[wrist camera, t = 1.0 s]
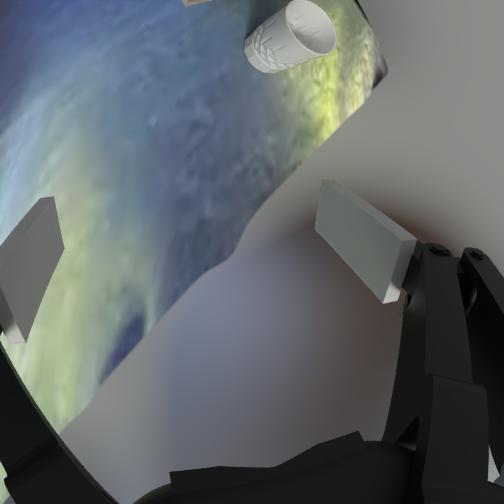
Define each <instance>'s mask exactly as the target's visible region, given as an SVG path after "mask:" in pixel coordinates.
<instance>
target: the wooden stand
mask: <svg viewBox="0 0 504 504" xmlns="http://www.w3.org/2000/svg"><path fill="white" fill-rule="evenodd" d="M208 1H213V0H182V2H183V3H184V5H185V7H186V6H190V5H194V4H199V3H203V2H208Z"/></svg>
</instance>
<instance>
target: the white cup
mask: <svg viewBox="0 0 504 504" xmlns="http://www.w3.org/2000/svg"><path fill="white" fill-rule="evenodd" d="M336 44H337V35H336V30H335V27H334V25H333V23H332V21H331V19H330V18H329V17H328V15H327V14H326V13H325V12H324V11H323V10H322V9H321V8H320V7H319V6H317V5H316V4H314V3H312V2H310V1H308V0H293V1H291V2H290V3H288V4H287V5H285V6H284V7H283V8H281V9H280V10H279V11H277V12H276V13H275V14H273V15H272V16H271V17H269V18H268V19H267V20H266V21H265V22H263V23H262V24H261V25H260V26H259V27H258V28H257V29H256V30H255V31H253V32H252V33H251V34H250V35H249V36H248V37H247V39H246V40H245V43H244V52H245V54H246V57H247V60H248V61H249V62H250V63H251V64H252V65H253V66H254V68H256V69H258V70H260V71H262V72H263V73H275V72H278V71H280V70H283V69H286V68H290V67H293V66H297V65H299V64H302V63H305V62H308V61H310V60H313V59H316V58H319V57H322V56H325V55H328V54H330V53H331V52H333V50H334V49H335V47H336Z"/></svg>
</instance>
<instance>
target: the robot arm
mask: <svg viewBox="0 0 504 504" xmlns="http://www.w3.org/2000/svg"><path fill="white" fill-rule="evenodd" d="M315 230H316V231H317V232H318V233H319V234H320V235H321V236H322V237H323V238H324V239H325V240H326V241H327V242H328V243H329V244H330V246H331V247H332V248H333V249H334V250H335V251H336V252H337V253H338V254H339V255H340V256H341V257H342V258H343V260H344V261H345V262H346V263H347V264H348V265H349V266H350V267H351V268H352V269H353V270H354V271H355V273H356V274H357V275H358V276H359V277H360V278H361V279H362V280H363V282H365V284H366V285H367V286H368V287H369V288H370V289H371V290H372V292H373V293H374V294H375V295H376V296H377V297H378V298H379V300H380V301H381V302H382V303H388V302H392V301H397V300H398V297H399V294H400V291H401V289H402V288H403V289H404V290H405V291H406V292H407V295H406V298H405V301H404V304H403V306H402V309H401V311H400V313H399V316H402V314H403V322H402V332H401V339H400V347H399V355H398V362H397V369H396V375H395V381H394V387H393V393H392V398H391V403H390V408H389V413H388V418H387V422H386V427H385V431H384V435H383V437H382V440H381V441H363V439H362V437H361V435H360V433H359V431H356V432H353V433H350V434H347V435H345V436H341V437H338V438H336V439H332V440H329V441H326V442H323V443H319V444H317V445H315V446H313V447H312V448H310V449H308V450H306V451H304V452H303V453H301V454H299V455H297V456H295V457H294V458H292V459H290V460H288V461H286V462H284V463H282V464H280V465H278V466H276V467H270V468H256V467H255V468H254V467H227V466H216V467H210V468H202V469H193V470H184V471H174V472H169V473H170V479H171V483H169V484H166V485H163V486H161V487H159V488H157V489H155V490H152V491H150V492H149V493H147V494H145V495H144V496H142V497H141V498H140V499H138V500H137V501H136V502H135V503H134V504H504V278H503V276H502V275H501V273H500V272H499V271H498V269H497V268H496V267H495V265H494V264H493V262H492V261H491V260H490V258H489V257H488V256H487V255H486V254H484V253H483V252H482V251H481V250H479V249H476V248H465V249H464V252H463V254H462V257H461V258H455V257H453V255H452V253H451V252H450V251H449V250H448V249H447V248H445V247H443V246H442V245H439V244H434V243H426V244H422V243H421V242H420V241H418V240H417V239H416V238H415V237H414V236H412V235H411V234H410V233H409V232H407V231H406V230H404V229H403V228H402V227H401V226H399V225H398V224H396V223H395V222H393V221H392V220H391V219H390V218H388V217H387V216H386V215H384V214H383V213H381V212H380V211H379V210H377V209H376V208H374V207H373V206H372V205H370V204H368V203H367V202H366V201H364V200H363V199H362V198H360V197H359V196H357V195H356V194H354V193H353V192H351V191H350V190H348V189H347V188H345V187H344V186H342V185H341V184H339V183H338V182H336V181H334V180H322V182H321V189H320V196H319V203H318V211H317V217H316V224H315ZM64 249H65V248H64V244H63V240H62V235H61V230H60V226H59V221H58V216H57V210H56V205H55V199H54V196H53V197H46V198H40V199H39V200H38V201H37V203H36V204H35V205H34V206H33V207H32V208H31V209H30V211H29V212H28V213H27V214H26V215H25V216H24V218H23V219H22V220H21V221H20V222H19V224H18V225H17V226H16V227H15V228H14V230H13V231H12V232H11V233H10V235H9V236H8V237H7V239H6V240H5V241H4V242H3V244H2V245H1V246H0V335H1V333H2V331H3V333H4V335H5V337H6V339H7V340H8V342H9V343H26V342H27V339H28V336H29V333H30V330H31V327H32V325H33V322H34V319H35V316H36V314H37V311H38V309H39V306H40V303H41V301H42V298H43V296H44V293H45V291H46V289H47V286H48V284H49V282H50V279H51V277H52V275H53V272H54V270H55V268H56V266H57V263H58V261H59V259H60V257H61V255H62V253H63V251H64ZM476 294H477V295H476ZM475 296H476V299H475V301H474V303H473V300H474V298H475ZM489 446H490V450H491V454H492V456H493V459H494V462H495V465H496V468H497V470H498V472H499V474H500V476H499V477H498V478H497V479H496V480H495V481H494V483H492V482H489V481H488V462H489V461H488V460H489ZM0 461H1V463H2V465H3V467H4V469H5V471H6V473H7V477H6V478H4V482H5V486H6V488H7V490H8V492H9V493H10V495H11V497H12V498H13V500H14V501H15V503H16V504H119V503H118V502H117V501H116V500H115V499H114V498H113V497H112V496H111V495H109V493H108V492H107V491H106V490H104V488H103V487H102V486H101V485H100V484H99V483H98V482H97V481H96V480H95V479H94V478H93V477H92V476H91V474H90V473H89V472H88V471H87V470H86V469H85V468H84V466H83V465H82V464H81V463H80V462H79V461H78V459H77V458H76V457H75V456H74V455H73V453H72V452H71V451H70V450H69V448H68V447H67V446H66V445H65V443H64V442H63V441H62V439H61V438H60V437H59V435H58V434H57V433H56V431H55V430H54V429H53V427H52V426H51V424H50V423H49V422H48V420H47V419H46V417H45V416H44V415H43V413H42V412H41V410H40V409H39V407H38V406H37V404H36V403H35V401H34V399H33V398H32V396H31V395H30V393H29V392H28V390H27V388H26V387H25V385H24V383H23V382H22V380H21V378H20V377H19V375H18V373H17V371H16V370H15V368H14V366H13V364H12V362H11V360H10V359H9V357H8V355H7V353H6V351H5V349H4V347H3V345H2V343H1V341H0Z"/></svg>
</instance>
